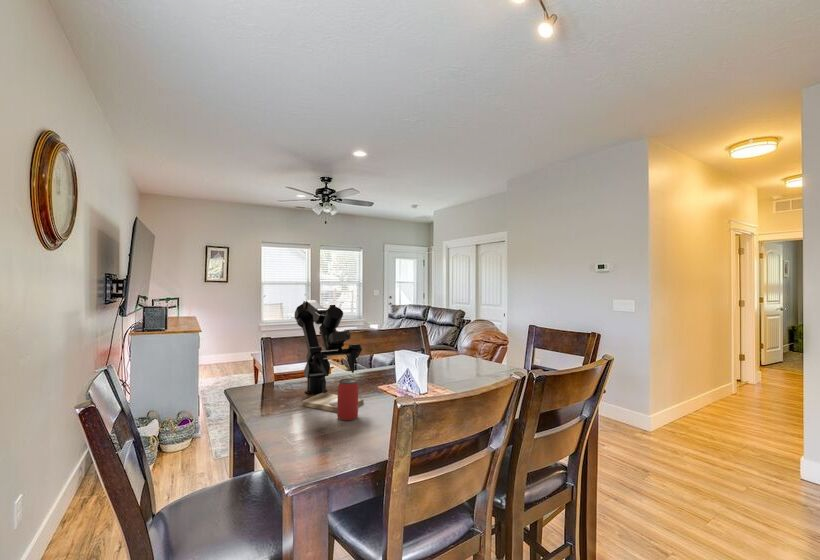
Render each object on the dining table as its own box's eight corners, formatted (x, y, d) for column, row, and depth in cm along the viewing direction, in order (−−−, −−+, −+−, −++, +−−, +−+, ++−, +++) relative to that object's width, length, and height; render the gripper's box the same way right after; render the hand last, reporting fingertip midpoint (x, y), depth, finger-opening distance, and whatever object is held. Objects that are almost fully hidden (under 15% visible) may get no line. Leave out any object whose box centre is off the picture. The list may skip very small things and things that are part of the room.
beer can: (359, 414, 129) (360, 378, 129) (355, 421, 123) (355, 383, 123) (340, 413, 130) (341, 377, 130) (334, 420, 123) (335, 382, 123)
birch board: (301, 405, 138) (301, 400, 138) (322, 396, 149) (322, 392, 149) (346, 413, 130) (346, 408, 130) (364, 403, 141) (364, 398, 141)
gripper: (309, 323, 132) (319, 362, 123) (360, 321, 142) (373, 357, 132) (302, 343, 139) (311, 381, 129) (351, 340, 148) (363, 375, 139)
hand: (340, 373), depth 132 cm, fingers open, 9 cm apart
